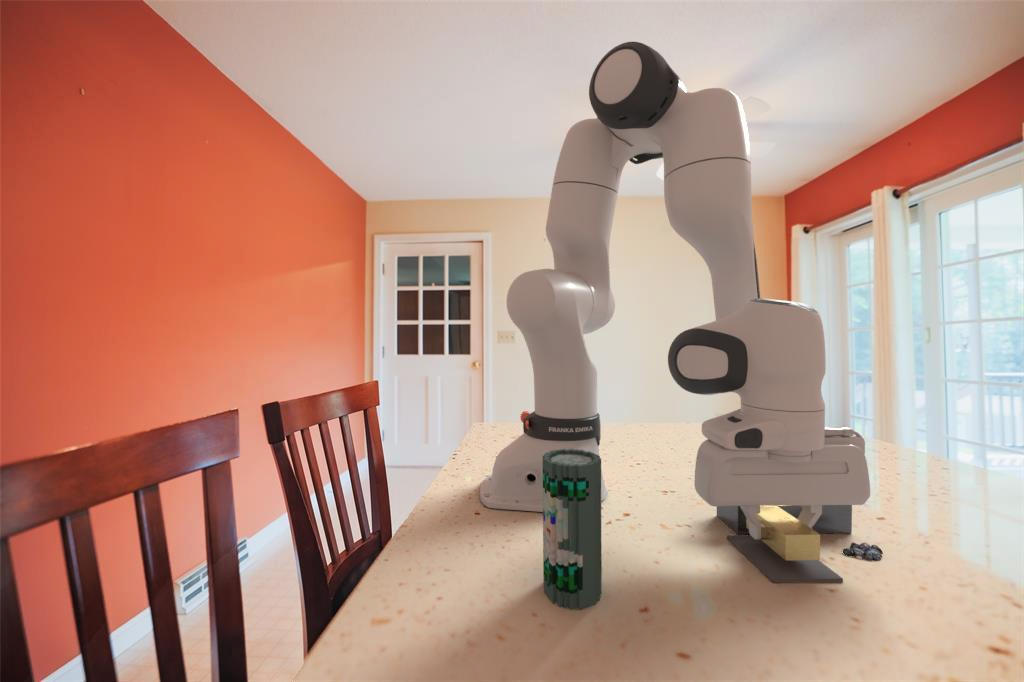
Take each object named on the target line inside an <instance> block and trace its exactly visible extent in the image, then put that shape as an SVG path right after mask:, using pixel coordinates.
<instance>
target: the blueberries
mask: <svg viewBox="0 0 1024 682" xmlns="http://www.w3.org/2000/svg"><path fill="white" fill-rule="evenodd" d="M838 540H840V539H838ZM838 540H837V541H838ZM842 551H843V553H844V554H845V555H844V554H843V555H844V556H846V555H847V556H846V557H849V556H852V557H851V558H854V557H855V559H858V558H859V559H858V560H863V559H865V561H869V562H870V561H871V562H874V563H875V562H880V561H881V560H882V558H883V555H884V554H883V553H884V552H883V550H882V548H880V547H879V545H877V544H872V545H870V544H869V543H867V542H862V543H860V544H859V543H856V542H851V543H850V546H849V548H847V547H846V548H843V550H842ZM853 556H854V557H853ZM856 557H857V558H856ZM860 558H861V559H860Z"/></svg>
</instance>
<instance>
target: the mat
mask: <svg viewBox="0 0 1024 682" xmlns="http://www.w3.org/2000/svg"><path fill="white" fill-rule="evenodd" d="M726 539H727V540H728V541H729V542H730V543H731V544H732V545H734V547H735V548H737V549H738V551H739V552H740V553H741V554H742V555H743V556H745V557H746V558H747V560H748V561H750V562H751V563H752V564H753V565H754V566H755V567H756V568H757V569H758V570H759V571H760V572H761V573H762V574H763V575H764V576H765V577H766V578H767V579H768V580H769V581H770V582H771V583H773V584H776V583H777V584H781V583H785V584H786V583H843V582H844V578H843V577H842V576H840V575H839V574H838V573H836V572H835V571H834V570H833V569H831V568H830V567H828V566H827V565H826V564H824V563H823V562H822V561H821V560H784V559H783V558H782V557H781V556H780V555H778V554H777V553H776V552H775V551H774V550H773V549H771V548H770V547H769V546H768V545H767V544H765V543H764V542H763V541H762V540H755V539H754V538H753V537H752V536H751V535H727V536H726Z"/></svg>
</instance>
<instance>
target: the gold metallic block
mask: <svg viewBox="0 0 1024 682" xmlns="http://www.w3.org/2000/svg"><path fill="white" fill-rule="evenodd" d="M756 516H757V518H758V519H759V520H760V521H761V522H763V524H765V525H767V526H768V539H765V540H762V541H763V542H764V543H765V544H767V545H768V546H769V547H770V548H771V549H773V550H774V551H775V552H776V553H777V554H778V555H780V556H781V557H782V558H783V559H784V560H819V561H821V534H819V533H817V532H816V531H814V530H813V529H811V528H810V527H808V526H807V525H805V524H804V523H802V522H801V521H799V520H798V519H796V518H795V517H793V516H792V515H790V514H789V513H787V512H785V511H784V510H782V509H781V508H779V507H778V506H760V514H756ZM746 528H748V529H749V521H748V519H747V518H746Z"/></svg>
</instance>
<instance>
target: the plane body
mask: <svg viewBox="0 0 1024 682" xmlns="http://www.w3.org/2000/svg"><path fill="white" fill-rule="evenodd" d="M778 507H779V508H781V509H782V510H784V511H785V512H787V513H789V514H790V515H792V516H793V517H795V518H796V519H798V517H799V515H800V513H801V511H802V509H803V507H801V506H800V505H798V506H778ZM716 516H717V517H718V519H720V520H721V521H722V522H723V523H724V524H725V525H726V526H728V527H729V528H730V529H731V530H732V531H733V532H734V533H735V534H736V536H738V535H739V534H740V535H746V534H750V533H749V529H748V528H746V516H745V514H744V513H743V511H742V509H741V508H740V506H716ZM852 516H853V505H822V514H821V515H820V517H819V518H818V520H817V521H816V523H815V524H814V526H812V529H813V530H814V531H816V532H817V533H826V534H825V535H828V534H827V533H831V534H832V533H852V529H853V528H852V527H853V526H852V525H853V524H852V523H853V522H852V521H853V517H852ZM831 534H830V535H831ZM832 535H833V534H832Z"/></svg>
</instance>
